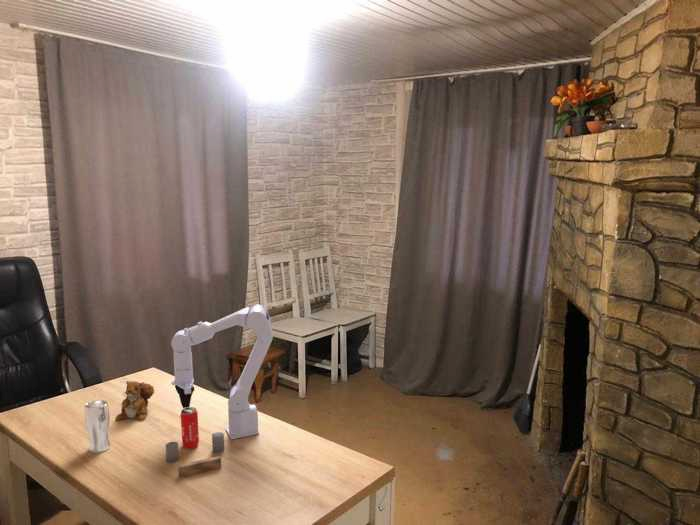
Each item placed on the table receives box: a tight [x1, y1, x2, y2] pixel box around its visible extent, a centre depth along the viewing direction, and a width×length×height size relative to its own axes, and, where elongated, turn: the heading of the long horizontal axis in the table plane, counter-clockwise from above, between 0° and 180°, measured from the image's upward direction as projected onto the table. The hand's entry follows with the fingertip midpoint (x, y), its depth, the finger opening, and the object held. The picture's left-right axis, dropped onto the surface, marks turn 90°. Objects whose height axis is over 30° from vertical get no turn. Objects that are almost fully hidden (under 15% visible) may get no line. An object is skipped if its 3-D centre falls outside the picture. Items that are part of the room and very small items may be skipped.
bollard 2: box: [211, 431, 225, 453], centre depth 172 cm, size 4×4×5 cm
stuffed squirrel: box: [115, 380, 156, 421], centre depth 196 cm, size 10×14×13 cm
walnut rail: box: [177, 455, 222, 478], centre depth 160 cm, size 12×2×3 cm, turn 116°
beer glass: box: [84, 399, 111, 454], centre depth 172 cm, size 7×7×15 cm
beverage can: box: [180, 406, 200, 449], centre depth 174 cm, size 5×5×12 cm
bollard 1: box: [165, 441, 180, 464], centre depth 166 cm, size 4×4×5 cm
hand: (185, 406), depth 179 cm, fingers closed
